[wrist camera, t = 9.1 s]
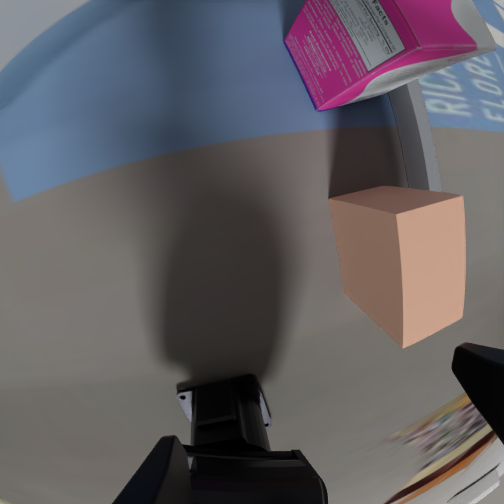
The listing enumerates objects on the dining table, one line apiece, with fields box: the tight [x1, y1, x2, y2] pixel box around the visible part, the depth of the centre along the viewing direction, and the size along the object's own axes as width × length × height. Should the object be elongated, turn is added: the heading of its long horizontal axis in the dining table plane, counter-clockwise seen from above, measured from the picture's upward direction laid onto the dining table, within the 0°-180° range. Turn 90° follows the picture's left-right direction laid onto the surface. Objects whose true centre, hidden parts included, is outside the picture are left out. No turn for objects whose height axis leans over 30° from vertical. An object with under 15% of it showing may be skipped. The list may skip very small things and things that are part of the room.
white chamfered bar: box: [446, 469, 500, 504], centre depth 45 cm, size 7×7×24 cm
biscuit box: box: [328, 185, 466, 348], centre depth 16 cm, size 5×7×8 cm, turn 14°
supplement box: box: [284, 0, 497, 112], centre depth 11 cm, size 6×6×12 cm
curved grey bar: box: [388, 79, 442, 192], centre depth 17 cm, size 20×1×2 cm, turn 14°
